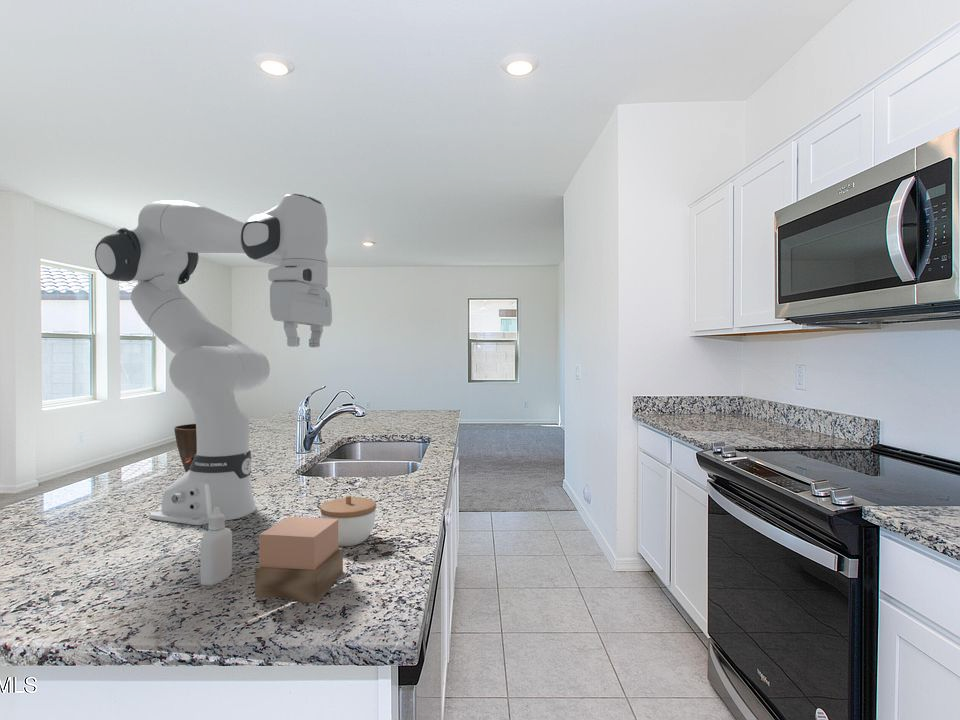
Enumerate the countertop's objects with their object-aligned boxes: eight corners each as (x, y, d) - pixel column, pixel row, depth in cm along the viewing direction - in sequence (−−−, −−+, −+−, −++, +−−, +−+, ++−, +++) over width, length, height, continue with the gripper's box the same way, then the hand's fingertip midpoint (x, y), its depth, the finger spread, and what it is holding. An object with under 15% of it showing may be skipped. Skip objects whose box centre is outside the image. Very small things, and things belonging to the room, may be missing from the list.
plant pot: (161, 483, 152) (161, 428, 152) (197, 472, 167) (197, 421, 167) (208, 486, 150) (208, 429, 150) (241, 474, 164) (241, 423, 164)
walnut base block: (255, 600, 81) (255, 568, 81) (287, 573, 91) (287, 545, 91) (317, 604, 80) (317, 571, 80) (342, 577, 90) (342, 548, 90)
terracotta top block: (259, 566, 82) (259, 534, 82) (288, 545, 91) (288, 516, 91) (314, 570, 81) (314, 537, 81) (338, 548, 89) (338, 519, 89)
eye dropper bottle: (193, 581, 87) (193, 509, 87) (226, 571, 92) (226, 501, 91) (205, 589, 84) (205, 514, 84) (239, 577, 89) (239, 506, 89)
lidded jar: (347, 557, 98) (347, 506, 98) (308, 546, 104) (308, 498, 104) (387, 540, 107) (387, 494, 107) (349, 530, 113) (349, 486, 113)
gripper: (311, 284, 116) (311, 347, 116) (263, 269, 96) (263, 346, 96) (339, 284, 115) (339, 347, 115) (296, 268, 95) (296, 346, 95)
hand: (304, 347), depth 105 cm, fingers open, 8 cm apart
